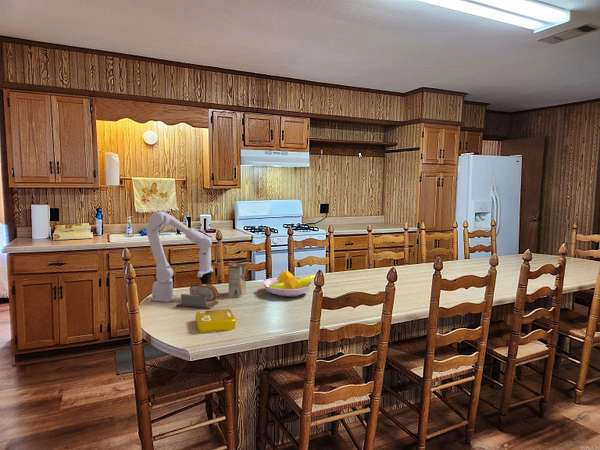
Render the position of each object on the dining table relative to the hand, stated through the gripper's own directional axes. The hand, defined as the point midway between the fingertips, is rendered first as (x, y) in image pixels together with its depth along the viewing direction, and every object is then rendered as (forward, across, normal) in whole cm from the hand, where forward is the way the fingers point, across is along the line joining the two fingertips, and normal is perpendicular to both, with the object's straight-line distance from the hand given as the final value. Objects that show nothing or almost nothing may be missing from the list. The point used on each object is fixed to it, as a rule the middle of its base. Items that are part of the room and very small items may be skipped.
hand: (205, 287), depth 200 cm
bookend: (+6, -14, 0) cm, 15 cm away
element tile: (+7, -31, -18) cm, 37 cm away
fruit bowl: (+6, +21, -39) cm, 45 cm away
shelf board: (+6, -9, 0) cm, 11 cm away
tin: (+6, -2, 0) cm, 6 cm away
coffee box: (+6, +11, -13) cm, 18 cm away
